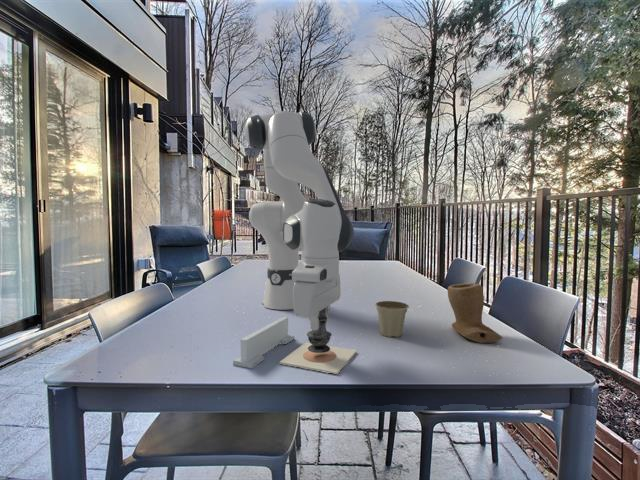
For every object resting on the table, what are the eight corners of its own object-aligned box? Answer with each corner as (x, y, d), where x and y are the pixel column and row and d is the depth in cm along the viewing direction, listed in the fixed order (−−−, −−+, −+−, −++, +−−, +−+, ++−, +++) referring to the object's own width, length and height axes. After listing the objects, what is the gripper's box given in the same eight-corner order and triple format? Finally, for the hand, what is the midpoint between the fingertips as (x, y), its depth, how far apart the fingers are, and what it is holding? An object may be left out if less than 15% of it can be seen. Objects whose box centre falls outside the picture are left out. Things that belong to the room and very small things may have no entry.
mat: (305, 344, 96) (305, 341, 96) (356, 352, 90) (356, 349, 90) (279, 364, 83) (279, 361, 83) (337, 375, 78) (337, 372, 77)
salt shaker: (328, 354, 83) (329, 302, 82) (303, 352, 84) (304, 301, 83) (333, 345, 89) (334, 297, 88) (310, 343, 90) (310, 295, 89)
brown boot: (441, 327, 112) (442, 279, 111) (480, 328, 112) (482, 279, 111) (457, 344, 97) (459, 289, 96) (503, 345, 97) (505, 289, 96)
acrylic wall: (278, 336, 102) (278, 315, 101) (294, 339, 100) (294, 317, 99) (232, 364, 82) (232, 338, 82) (251, 368, 81) (251, 342, 80)
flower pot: (409, 331, 108) (410, 302, 107) (406, 341, 99) (407, 310, 98) (378, 327, 111) (378, 299, 110) (372, 337, 102) (372, 306, 102)
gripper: (324, 262, 96) (323, 314, 97) (287, 273, 77) (287, 337, 78) (347, 264, 94) (346, 316, 94) (315, 275, 75) (314, 341, 76)
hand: (319, 326), depth 86 cm, fingers closed on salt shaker, 3 cm apart
